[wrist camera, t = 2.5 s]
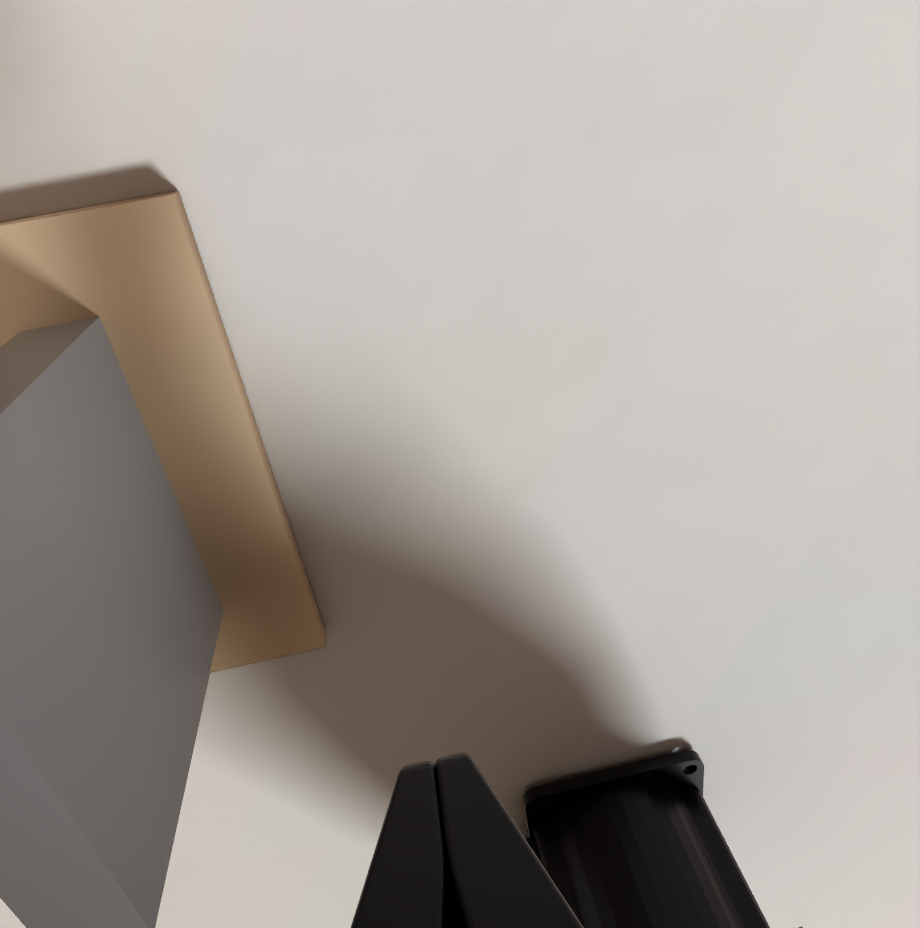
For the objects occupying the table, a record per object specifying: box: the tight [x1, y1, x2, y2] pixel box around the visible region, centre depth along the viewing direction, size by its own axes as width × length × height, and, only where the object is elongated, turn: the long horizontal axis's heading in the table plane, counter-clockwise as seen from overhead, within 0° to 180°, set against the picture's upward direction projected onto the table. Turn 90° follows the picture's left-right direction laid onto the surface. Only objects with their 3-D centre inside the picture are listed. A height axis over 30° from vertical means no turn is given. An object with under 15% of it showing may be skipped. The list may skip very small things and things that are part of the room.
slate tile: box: [0, 317, 223, 928], centre depth 13 cm, size 2×8×8 cm, turn 9°
